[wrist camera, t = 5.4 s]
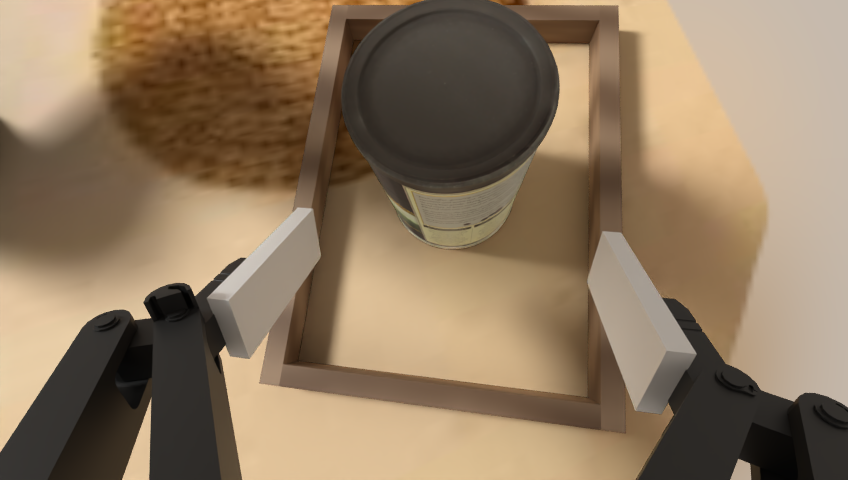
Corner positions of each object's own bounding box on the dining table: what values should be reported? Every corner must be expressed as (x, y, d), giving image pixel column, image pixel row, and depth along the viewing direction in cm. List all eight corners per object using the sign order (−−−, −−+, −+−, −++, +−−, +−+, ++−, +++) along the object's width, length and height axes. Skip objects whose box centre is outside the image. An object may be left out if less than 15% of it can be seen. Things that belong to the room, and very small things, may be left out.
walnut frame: (610, 423, 25) (625, 433, 23) (276, 378, 28) (259, 383, 26) (606, 29, 33) (618, 5, 30) (341, 27, 36) (332, 5, 33)
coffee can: (372, 220, 31) (301, 136, 17) (425, 120, 32) (400, -30, 19) (483, 272, 29) (504, 224, 15) (534, 163, 30) (594, 31, 17)
